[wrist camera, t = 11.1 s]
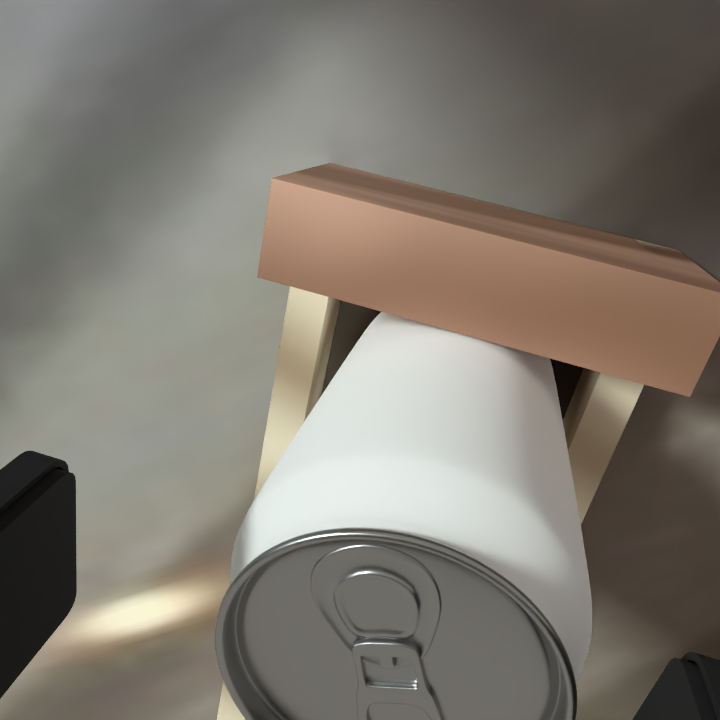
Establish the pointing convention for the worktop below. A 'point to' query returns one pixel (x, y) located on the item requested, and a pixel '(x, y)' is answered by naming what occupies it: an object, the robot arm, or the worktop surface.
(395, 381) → the can
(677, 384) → the rail channel
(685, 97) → the worktop surface
